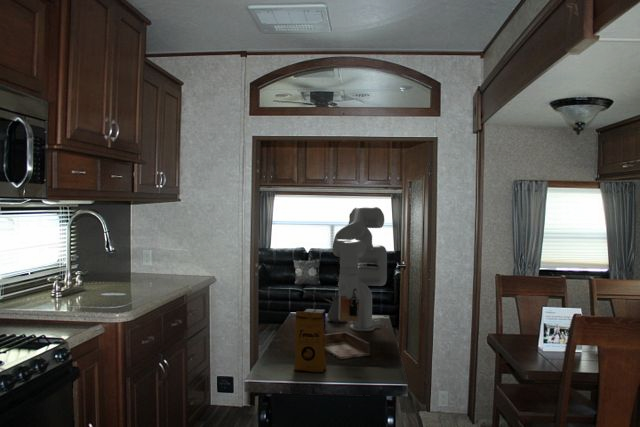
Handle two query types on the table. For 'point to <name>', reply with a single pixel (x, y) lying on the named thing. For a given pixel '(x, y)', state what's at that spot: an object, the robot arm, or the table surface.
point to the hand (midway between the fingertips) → (348, 313)
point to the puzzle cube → (319, 312)
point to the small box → (346, 310)
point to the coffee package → (310, 342)
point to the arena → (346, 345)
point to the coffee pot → (332, 308)
